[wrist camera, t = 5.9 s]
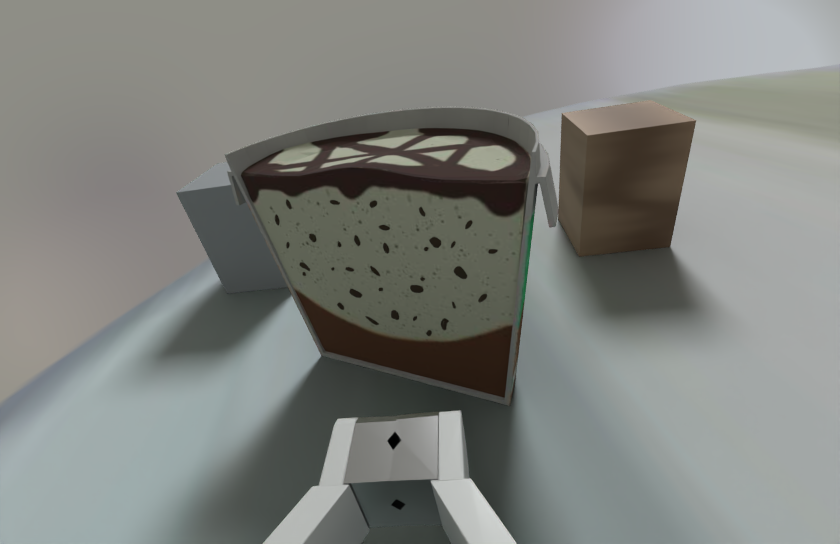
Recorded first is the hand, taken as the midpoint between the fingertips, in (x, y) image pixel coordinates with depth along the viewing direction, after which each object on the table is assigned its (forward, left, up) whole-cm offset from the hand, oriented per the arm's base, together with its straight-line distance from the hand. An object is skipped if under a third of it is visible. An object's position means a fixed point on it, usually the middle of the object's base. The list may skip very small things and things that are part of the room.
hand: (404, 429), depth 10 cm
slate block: (+11, -17, -5) cm, 21 cm away
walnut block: (-11, -17, -5) cm, 21 cm away
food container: (0, -9, -5) cm, 10 cm away
